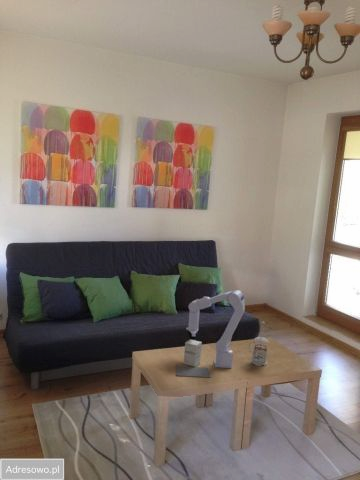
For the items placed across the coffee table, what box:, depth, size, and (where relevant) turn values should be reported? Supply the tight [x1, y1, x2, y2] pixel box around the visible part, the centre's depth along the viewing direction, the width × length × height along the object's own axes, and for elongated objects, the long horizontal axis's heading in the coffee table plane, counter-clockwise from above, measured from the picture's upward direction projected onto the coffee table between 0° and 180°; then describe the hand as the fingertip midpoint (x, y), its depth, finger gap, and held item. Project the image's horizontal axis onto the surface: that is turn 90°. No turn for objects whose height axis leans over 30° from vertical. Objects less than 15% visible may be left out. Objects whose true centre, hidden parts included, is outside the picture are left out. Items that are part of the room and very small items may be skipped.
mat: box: [175, 365, 211, 379], centre depth 227 cm, size 18×11×1 cm, turn 92°
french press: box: [248, 321, 269, 367], centre depth 244 cm, size 10×12×25 cm
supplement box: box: [183, 338, 203, 367], centre depth 237 cm, size 7×7×13 cm
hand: (192, 343), depth 245 cm, fingers closed
